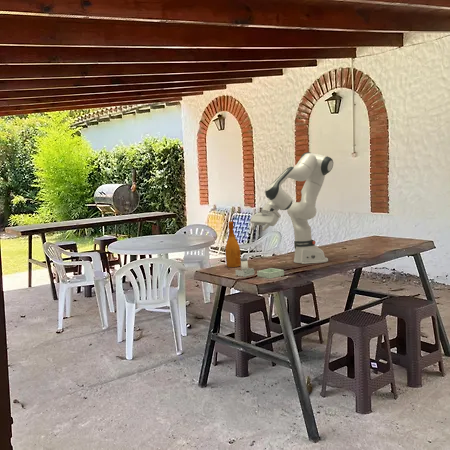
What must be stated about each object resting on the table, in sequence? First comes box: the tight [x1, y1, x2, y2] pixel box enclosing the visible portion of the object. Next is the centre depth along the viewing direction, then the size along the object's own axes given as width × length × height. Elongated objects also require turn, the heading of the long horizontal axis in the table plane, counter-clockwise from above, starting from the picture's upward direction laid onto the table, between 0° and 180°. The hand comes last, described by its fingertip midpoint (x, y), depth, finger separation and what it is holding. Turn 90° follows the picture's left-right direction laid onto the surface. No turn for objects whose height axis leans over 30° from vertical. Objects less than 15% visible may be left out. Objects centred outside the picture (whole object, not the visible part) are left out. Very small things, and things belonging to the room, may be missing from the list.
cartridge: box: [240, 257, 249, 270], centre depth 307 cm, size 4×4×10 cm
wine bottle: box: [224, 221, 242, 268], centre depth 337 cm, size 10×10×30 cm
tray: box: [256, 267, 285, 279], centre depth 300 cm, size 11×11×3 cm
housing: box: [235, 267, 255, 278], centre depth 308 cm, size 8×8×4 cm
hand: (257, 229), depth 312 cm, fingers open, 8 cm apart
